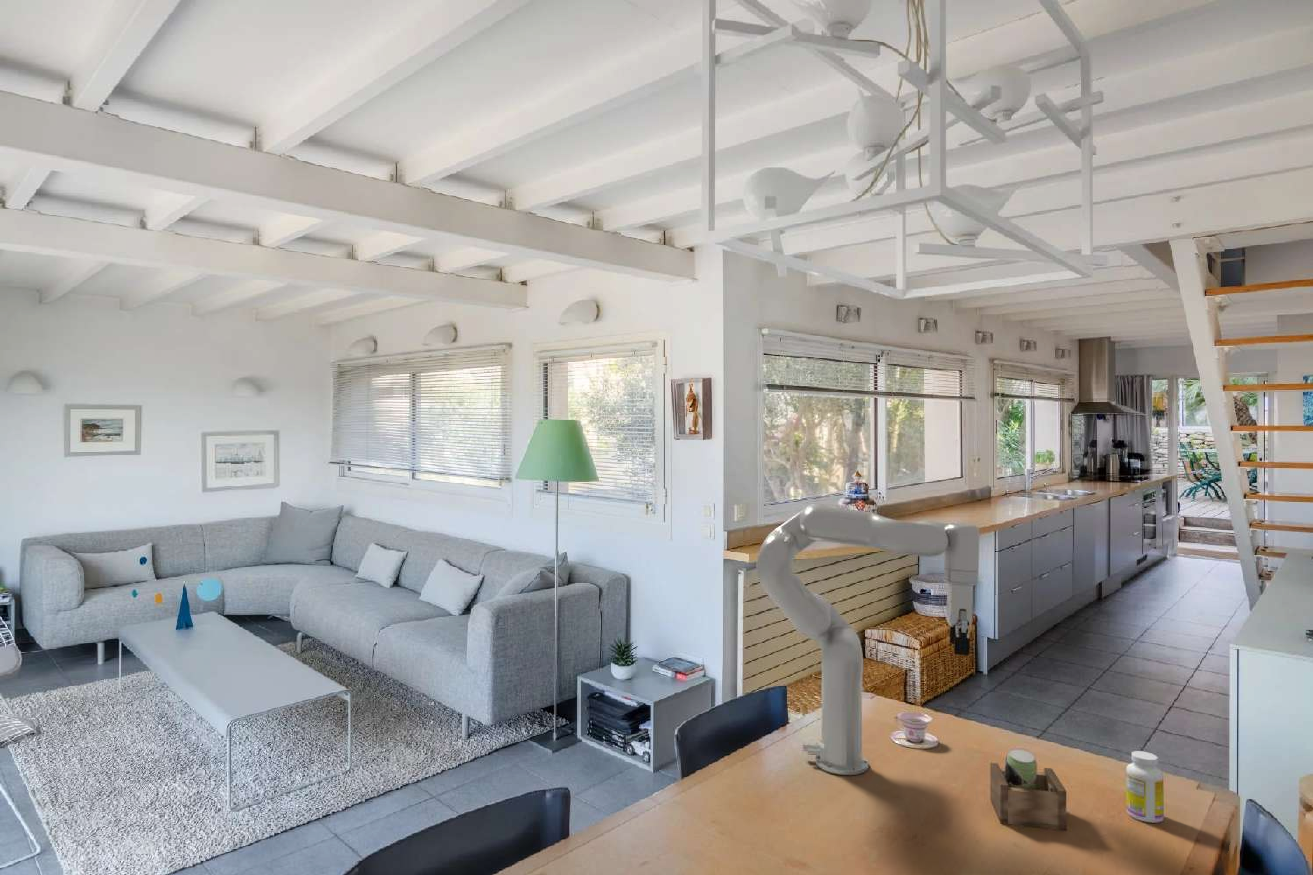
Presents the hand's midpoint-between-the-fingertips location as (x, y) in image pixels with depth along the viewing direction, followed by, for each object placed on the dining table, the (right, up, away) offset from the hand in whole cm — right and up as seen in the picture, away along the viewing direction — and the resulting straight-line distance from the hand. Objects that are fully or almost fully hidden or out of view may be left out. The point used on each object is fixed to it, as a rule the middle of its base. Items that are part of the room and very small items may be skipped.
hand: (959, 648), depth 182 cm
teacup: (-3, -30, +21) cm, 37 cm away
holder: (+7, -30, -19) cm, 36 cm away
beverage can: (+6, -29, -18) cm, 35 cm away
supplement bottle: (+32, -30, -19) cm, 48 cm away
